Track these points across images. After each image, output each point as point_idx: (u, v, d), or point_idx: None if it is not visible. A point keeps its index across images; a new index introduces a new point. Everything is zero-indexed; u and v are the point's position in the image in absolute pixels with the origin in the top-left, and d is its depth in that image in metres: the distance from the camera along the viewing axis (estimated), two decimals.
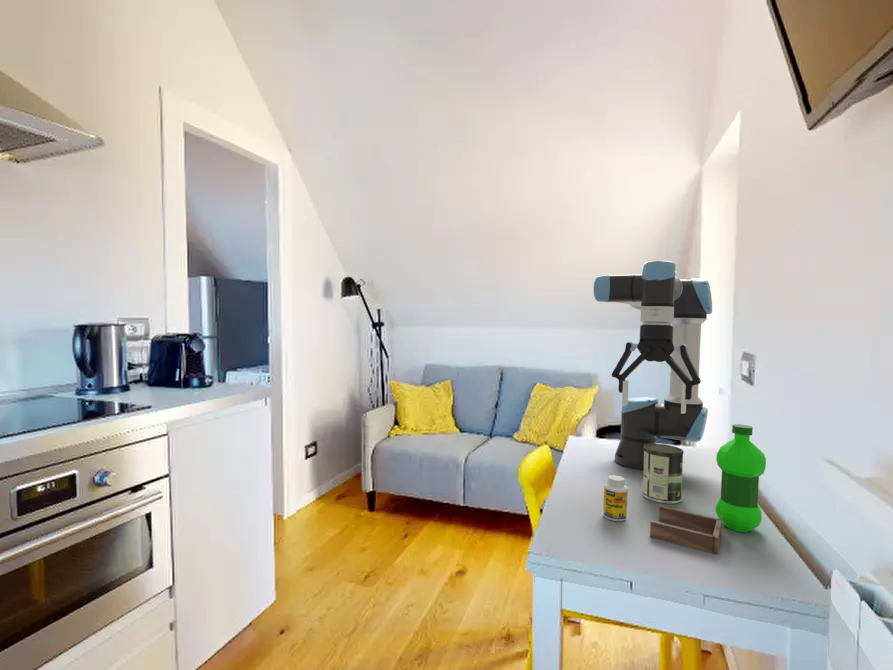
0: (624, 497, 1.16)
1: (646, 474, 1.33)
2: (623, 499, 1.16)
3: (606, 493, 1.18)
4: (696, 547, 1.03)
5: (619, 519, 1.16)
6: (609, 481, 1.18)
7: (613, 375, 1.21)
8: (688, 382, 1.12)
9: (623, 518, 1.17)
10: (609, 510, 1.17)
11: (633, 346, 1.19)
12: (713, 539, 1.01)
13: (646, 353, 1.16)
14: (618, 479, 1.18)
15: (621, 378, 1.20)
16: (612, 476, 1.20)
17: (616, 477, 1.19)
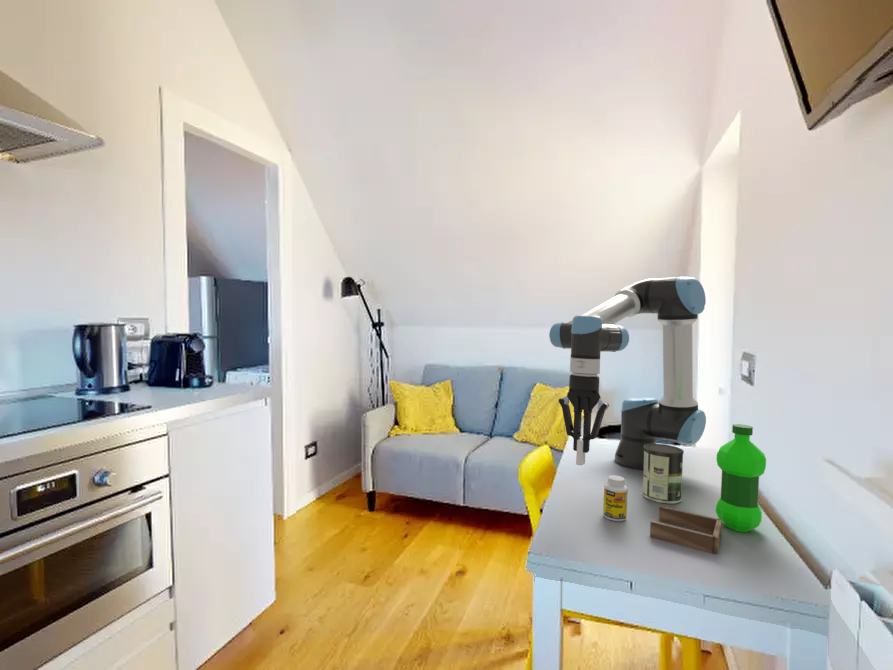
0: (624, 497, 1.16)
1: (646, 474, 1.33)
2: (623, 499, 1.16)
3: (606, 493, 1.18)
4: (696, 547, 1.03)
5: (619, 519, 1.16)
6: (609, 481, 1.18)
7: (568, 433, 1.24)
8: (586, 437, 1.21)
9: (623, 518, 1.17)
10: (609, 510, 1.17)
11: (565, 399, 1.25)
12: (713, 539, 1.01)
13: (577, 402, 1.22)
14: (618, 479, 1.18)
15: (575, 436, 1.23)
16: (612, 476, 1.20)
17: (616, 477, 1.19)
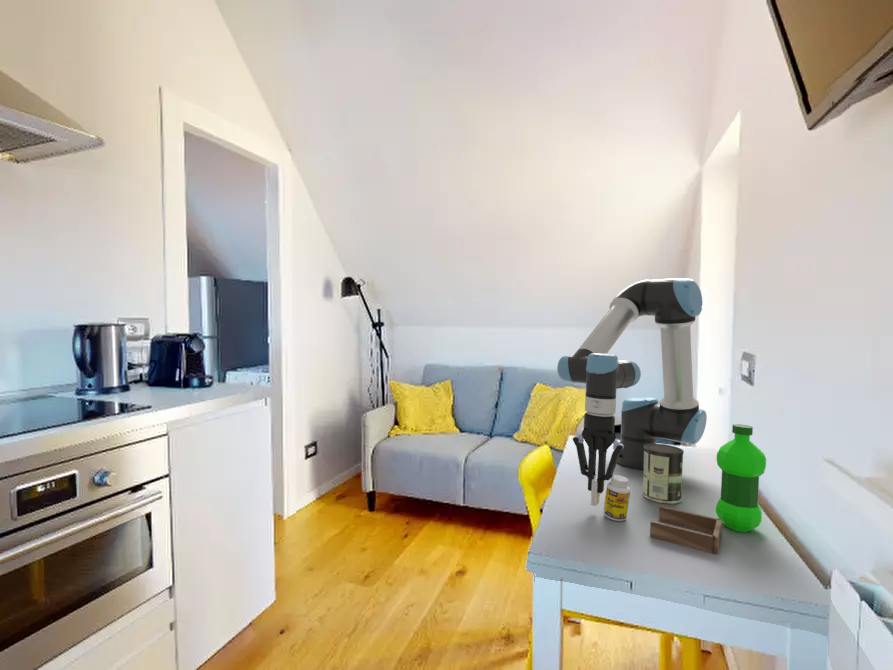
0: (626, 497, 1.16)
1: (646, 474, 1.33)
2: (625, 500, 1.16)
3: (608, 493, 1.18)
4: (696, 547, 1.03)
5: (619, 519, 1.16)
6: (612, 481, 1.18)
7: (583, 473, 1.22)
8: (600, 478, 1.19)
9: (623, 518, 1.17)
10: (610, 510, 1.17)
11: (580, 438, 1.23)
12: (713, 539, 1.01)
13: (591, 442, 1.20)
14: (622, 479, 1.17)
15: (590, 476, 1.21)
16: (616, 476, 1.19)
17: (620, 477, 1.18)
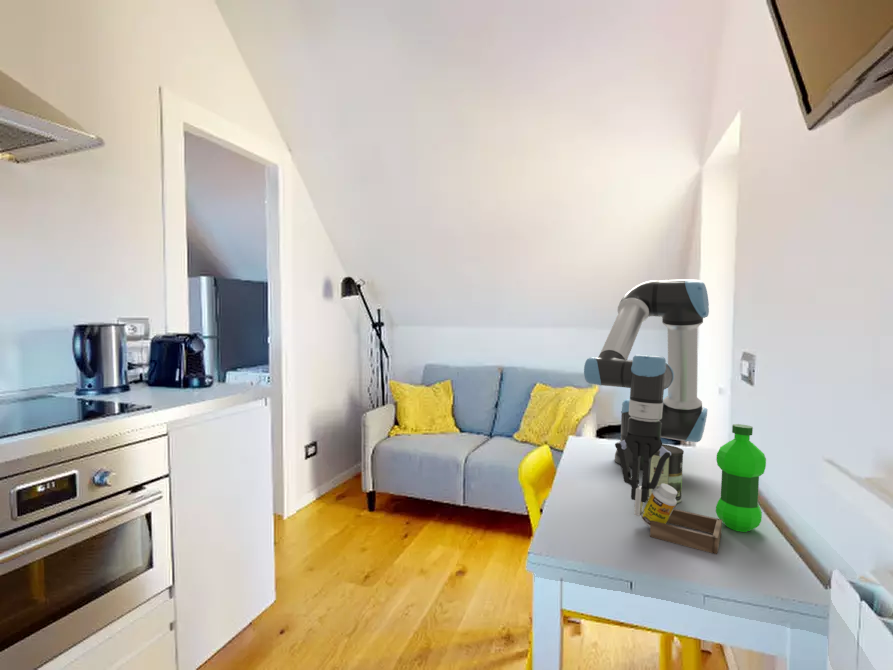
0: (670, 510, 1.10)
1: None
2: (668, 512, 1.10)
3: (652, 500, 1.11)
4: (696, 547, 1.03)
5: None
6: (660, 490, 1.11)
7: (626, 481, 1.16)
8: (645, 486, 1.13)
9: None
10: (649, 516, 1.11)
11: (622, 444, 1.17)
12: (713, 539, 1.01)
13: (636, 449, 1.14)
14: (671, 491, 1.10)
15: (634, 485, 1.14)
16: (665, 485, 1.12)
17: (669, 488, 1.11)
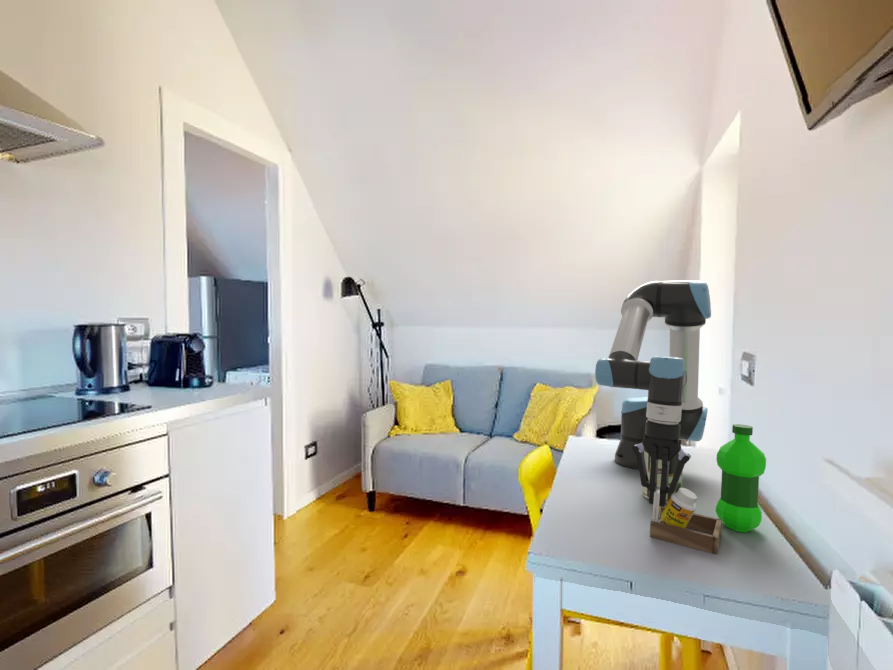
0: (689, 515, 1.07)
1: None
2: (687, 517, 1.07)
3: (671, 504, 1.09)
4: (696, 547, 1.03)
5: None
6: (679, 494, 1.08)
7: (644, 485, 1.13)
8: (664, 490, 1.11)
9: None
10: (667, 521, 1.09)
11: (640, 447, 1.15)
12: (713, 539, 1.01)
13: (654, 452, 1.11)
14: (690, 495, 1.08)
15: (652, 489, 1.12)
16: (684, 489, 1.09)
17: (688, 492, 1.09)
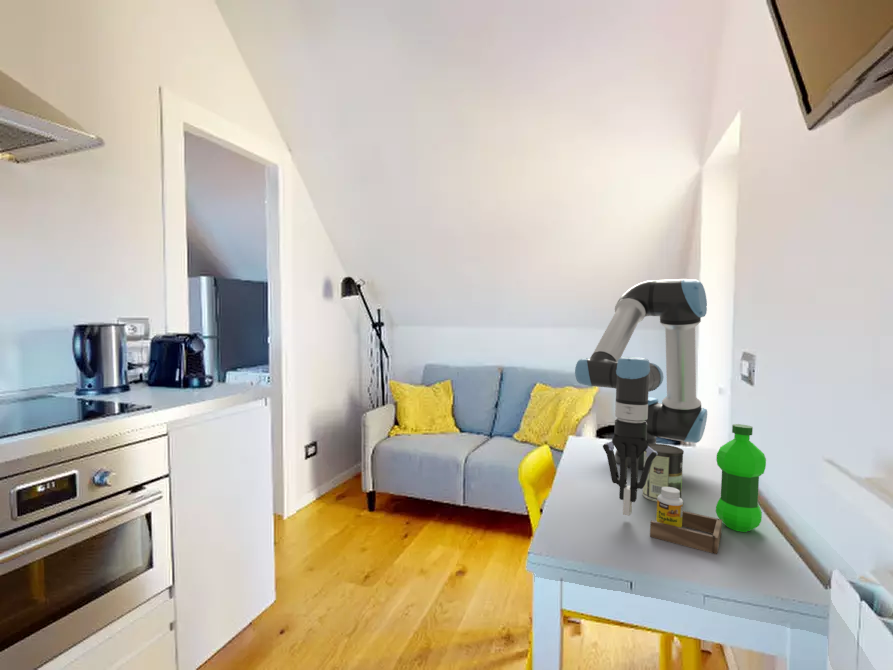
0: (678, 510, 1.09)
1: None
2: (678, 513, 1.09)
3: (659, 505, 1.11)
4: (696, 547, 1.03)
5: None
6: (662, 493, 1.11)
7: (614, 481, 1.18)
8: (634, 486, 1.15)
9: None
10: None
11: (610, 445, 1.19)
12: (713, 539, 1.01)
13: (623, 450, 1.16)
14: (673, 491, 1.10)
15: (622, 485, 1.17)
16: (666, 487, 1.12)
17: (670, 489, 1.11)
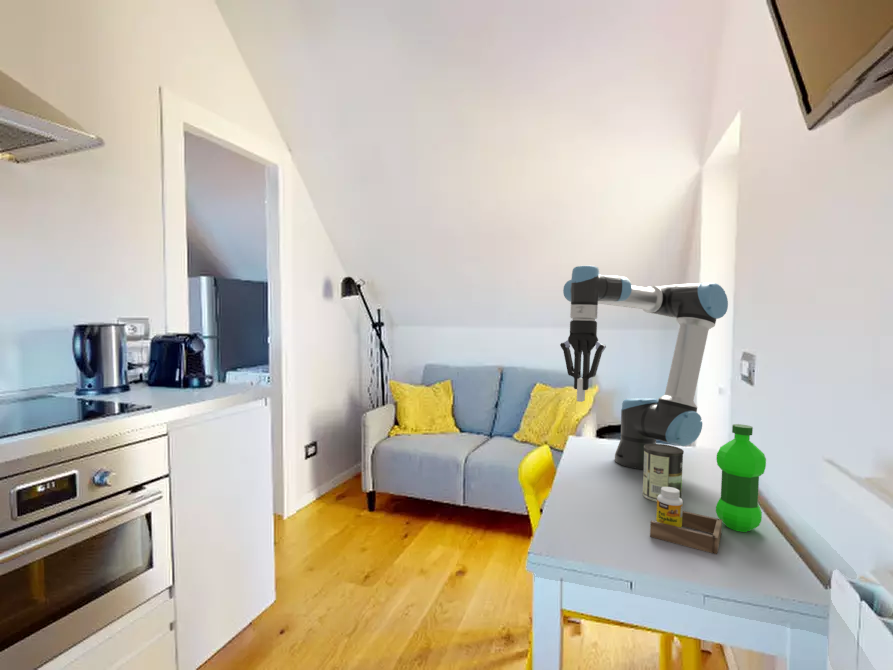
0: (678, 510, 1.09)
1: (646, 474, 1.33)
2: (678, 513, 1.09)
3: (659, 505, 1.11)
4: (696, 547, 1.03)
5: None
6: (662, 493, 1.11)
7: (569, 374, 1.37)
8: (585, 376, 1.35)
9: None
10: None
11: (566, 343, 1.38)
12: (713, 539, 1.01)
13: (577, 345, 1.35)
14: (672, 490, 1.10)
15: (576, 376, 1.36)
16: (666, 487, 1.12)
17: (670, 489, 1.11)
